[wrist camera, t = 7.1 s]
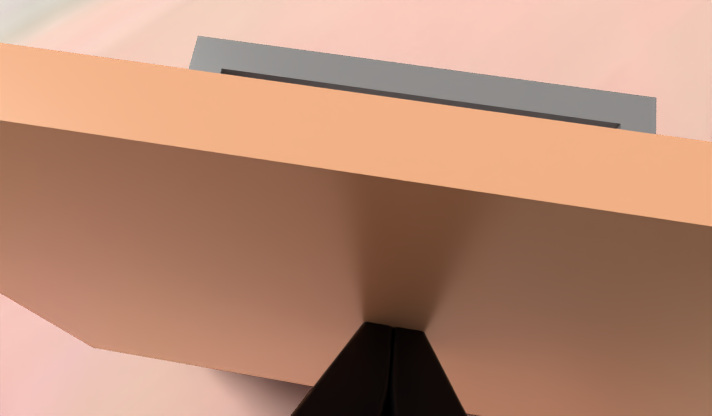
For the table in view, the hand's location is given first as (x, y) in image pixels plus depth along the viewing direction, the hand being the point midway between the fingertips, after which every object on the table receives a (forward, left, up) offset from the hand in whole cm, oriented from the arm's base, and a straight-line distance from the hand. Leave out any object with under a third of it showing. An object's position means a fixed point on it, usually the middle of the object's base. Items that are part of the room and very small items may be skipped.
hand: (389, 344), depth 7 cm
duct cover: (0, +1, -1) cm, 1 cm away
